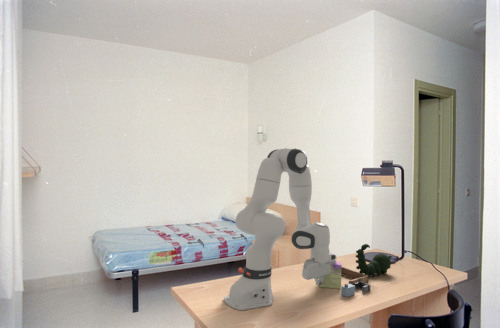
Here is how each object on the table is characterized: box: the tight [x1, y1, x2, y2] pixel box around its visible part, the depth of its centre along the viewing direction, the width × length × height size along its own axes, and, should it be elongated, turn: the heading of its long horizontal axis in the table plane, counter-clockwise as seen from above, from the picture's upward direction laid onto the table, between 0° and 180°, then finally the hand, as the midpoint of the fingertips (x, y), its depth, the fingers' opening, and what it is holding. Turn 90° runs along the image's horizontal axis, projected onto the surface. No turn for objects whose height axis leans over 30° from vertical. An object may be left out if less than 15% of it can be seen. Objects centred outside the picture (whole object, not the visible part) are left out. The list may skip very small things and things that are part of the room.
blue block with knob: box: [340, 283, 356, 298], centre depth 164 cm, size 6×3×5 cm, turn 126°
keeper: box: [354, 281, 371, 294], centre depth 170 cm, size 5×6×3 cm
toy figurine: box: [355, 243, 393, 278], centre depth 192 cm, size 9×19×25 cm
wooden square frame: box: [341, 266, 369, 285], centre depth 181 cm, size 14×17×4 cm
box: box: [318, 261, 343, 290], centre depth 174 cm, size 10×6×12 cm, turn 82°
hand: (319, 284), depth 170 cm, fingers closed
